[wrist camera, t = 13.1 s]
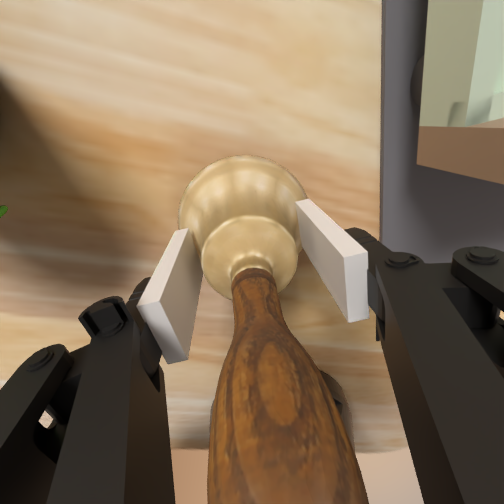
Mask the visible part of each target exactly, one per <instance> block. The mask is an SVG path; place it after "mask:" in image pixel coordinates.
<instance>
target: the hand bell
mask: <svg viewBox="0 0 504 504" xmlns="http://www.w3.org/2000/svg"><path fill="white" fill-rule="evenodd" d="M305 199H308V198H307V196H306V193H305V191H304V189H303V187H302V186H301V184H300V183H299V181H298V180H297V179H296V178H295V177H294V175H293V174H292V173H290V172H289V171H288V170H287V169H286V168H284V167H283V166H281V165H279V164H278V163H276V162H274V161H272V160H269V159H266V158H263V157H259V156H252V155H237V156H231V157H227V158H224V159H221V160H218V161H216V162H214V163H212V164H210V165H209V166H207V167H205V168H204V169H202V170H201V171H200V172H199V173H198V174H197V175H196V176H195V177H194V178H193V179H192V181H191V182H190V183H189V185H188V186H187V188H186V190H185V192H184V194H183V196H182V198H181V201H180V205H179V210H178V229H179V230H181V229H186V228H189V230H190V233H191V236H192V239H193V241H194V244H195V247H196V250H197V253H198V255H199V258H200V261H201V266H202V270H203V273H204V275H205V278H206V280H207V282H208V283H209V284H210V286H211V287H212V288H213V289H214V290H215V291H217V292H218V293H219V294H221V295H222V296H224V297H226V298H228V299H230V300H233V308H234V320H235V328H234V336H233V340H232V344H231V346H230V349H229V351H228V354H227V356H226V359H225V361H224V364H223V367H222V370H221V374H220V377H219V381H218V386H217V390H216V395H215V400H214V406H213V412H212V421H211V430H210V441H209V459H208V478H207V492H208V493H207V495H208V504H369V502H368V497H367V493H366V489H365V486H364V482H363V479H362V474H361V471H360V468H359V465H358V462H357V458H356V455H355V452H354V449H353V447H352V444H351V441H350V438H349V436H348V433H347V430H346V428H345V425H344V422H343V420H342V417H341V415H340V413H339V411H338V408H337V406H336V404H335V402H334V399H333V397H332V395H331V393H330V391H329V389H328V387H327V385H326V383H325V381H324V379H323V377H322V375H321V373H320V372H319V370H318V368H317V367H316V365H315V364H314V362H313V360H312V359H311V357H310V356H309V355H308V353H307V352H306V350H305V349H304V348H303V347H302V345H301V344H300V343H299V342H298V341H297V339H296V338H295V337H294V336H293V335H292V333H291V332H290V330H289V329H288V327H287V325H286V323H285V321H284V318H283V314H282V310H281V306H280V301H279V297H278V293H280V292H281V291H282V290H283V289H284V288H285V287H286V286H287V285H288V284H289V283H290V281H291V280H292V278H293V276H294V274H295V272H296V268H297V263H298V255H299V253H300V252H301V250H302V248H303V247H302V244H301V237H300V231H299V224H298V218H297V211H296V205H295V202H297V201H301V200H305Z"/></svg>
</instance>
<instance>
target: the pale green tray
mask: <svg viewBox="0 0 504 504" xmlns="http://www.w3.org/2000/svg"><path fill="white" fill-rule="evenodd" d="M410 88H411V95H412V98H413V100H414V102H415V103H416V104H417V105H419V106H421V109H420V123H419V137H418V151H417V164H418V165H422V166H426V167H431V168H435V169H439V170H444V171H448V172H452V173H457V174H461V175H465V176H469V177H474V178H478V179H482V180H487V181H491V182H495V183H500V184H504V0H428V14H427V27H426V41H425V55H424V56H422V57H421V58H420V59H419V61H418V62H417V64H416V65H415V67H414V70H413V73H412V77H411V86H410Z"/></svg>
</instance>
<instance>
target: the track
mask: <svg viewBox="0 0 504 504" xmlns="http://www.w3.org/2000/svg"><path fill="white" fill-rule="evenodd" d="M427 14H428V0H382V62H381V162H380V242H381V243H382V244H383V245H384V246H386V247H387V248H388V249H390V250H391V251H392V252H406V253H411V254H414V255H416V256H418V257H420V258H421V259H422V260H423V261H424V263H429V264H431V263H452V256H453V253H454V252H455V251H456V250H458V249H461V248H464V247H472V246H479V247H480V246H484V247H488V248H493V249H497V250H500V251H503V252H504V184H500V183H495V182H491V181H487V180H482V179H478V178H474V177H469V176H465V175H461V174H457V173H452V172H448V171H444V170H439V169H435V168H431V167H426V166H422V165H418V164H417V151H418V137H419V123H420V109H421V106H419V105H417V104H416V103H415V102H414V100H413V98H412V95H411V88H410V86H411V77H412V73H413V70H414V67H415V65H416V64H417V62H418V61H419V59H420V58H421V57H422V56H424V55H425V41H426V27H427Z"/></svg>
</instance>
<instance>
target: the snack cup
mask: <svg viewBox="0 0 504 504" xmlns="http://www.w3.org/2000/svg"><path fill="white" fill-rule="evenodd" d="M7 210H8V207H7V206H5V205H3V206H0V218H1V217H2V216H3V215H4V214H5V213H6V212H7Z"/></svg>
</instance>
